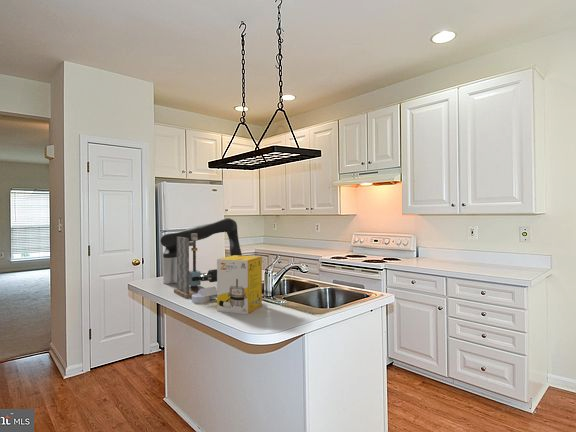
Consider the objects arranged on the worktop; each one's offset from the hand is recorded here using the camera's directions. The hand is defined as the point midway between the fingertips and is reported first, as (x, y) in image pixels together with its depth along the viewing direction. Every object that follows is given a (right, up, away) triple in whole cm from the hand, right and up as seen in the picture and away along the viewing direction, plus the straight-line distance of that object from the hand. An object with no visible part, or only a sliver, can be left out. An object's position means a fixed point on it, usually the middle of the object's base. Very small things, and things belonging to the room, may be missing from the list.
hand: (190, 278), depth 207 cm
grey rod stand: (+2, -9, +2) cm, 9 cm away
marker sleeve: (+2, -4, +2) cm, 5 cm away
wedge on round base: (+12, -9, -15) cm, 21 cm away
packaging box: (+33, -9, -31) cm, 46 cm away
